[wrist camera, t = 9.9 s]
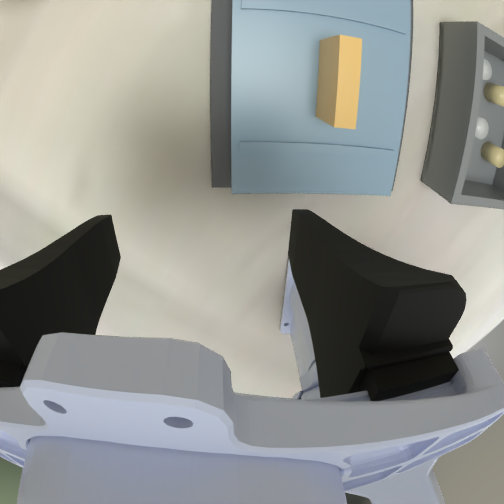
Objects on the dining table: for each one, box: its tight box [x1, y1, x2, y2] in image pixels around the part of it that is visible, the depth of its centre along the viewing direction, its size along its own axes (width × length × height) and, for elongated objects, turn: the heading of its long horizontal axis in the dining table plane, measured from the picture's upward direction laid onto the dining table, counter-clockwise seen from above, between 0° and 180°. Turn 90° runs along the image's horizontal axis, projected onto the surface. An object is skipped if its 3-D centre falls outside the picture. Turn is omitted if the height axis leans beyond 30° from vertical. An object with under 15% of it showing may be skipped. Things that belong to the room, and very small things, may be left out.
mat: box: [210, 0, 413, 191], centre depth 17 cm, size 16×14×1 cm
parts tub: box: [421, 22, 504, 209], centre depth 17 cm, size 14×10×4 cm
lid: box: [231, 0, 411, 196], centre depth 15 cm, size 15×11×5 cm
